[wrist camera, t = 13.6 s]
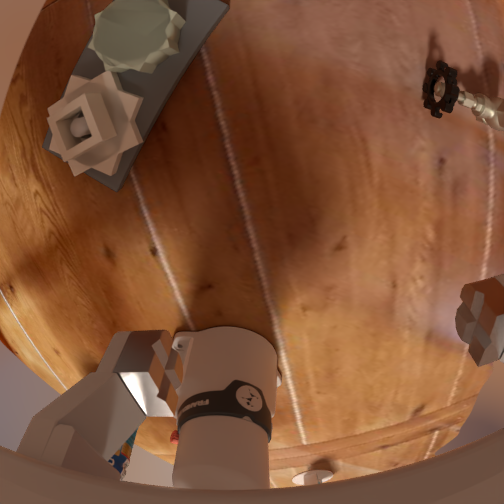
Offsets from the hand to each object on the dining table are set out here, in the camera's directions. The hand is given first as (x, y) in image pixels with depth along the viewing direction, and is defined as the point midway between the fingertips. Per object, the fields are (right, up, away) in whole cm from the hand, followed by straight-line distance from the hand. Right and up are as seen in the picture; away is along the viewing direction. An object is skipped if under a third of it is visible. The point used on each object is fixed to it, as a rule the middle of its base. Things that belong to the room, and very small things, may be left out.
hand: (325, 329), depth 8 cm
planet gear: (-19, +16, +22) cm, 34 cm away
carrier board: (-16, +21, +21) cm, 34 cm away
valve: (+24, +20, +22) cm, 38 cm away
